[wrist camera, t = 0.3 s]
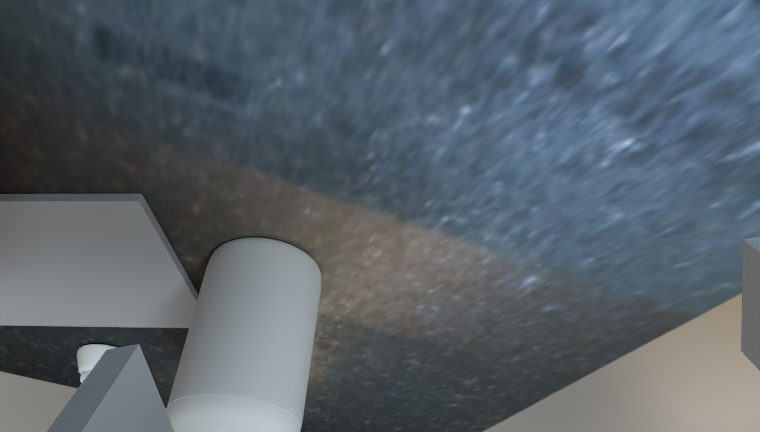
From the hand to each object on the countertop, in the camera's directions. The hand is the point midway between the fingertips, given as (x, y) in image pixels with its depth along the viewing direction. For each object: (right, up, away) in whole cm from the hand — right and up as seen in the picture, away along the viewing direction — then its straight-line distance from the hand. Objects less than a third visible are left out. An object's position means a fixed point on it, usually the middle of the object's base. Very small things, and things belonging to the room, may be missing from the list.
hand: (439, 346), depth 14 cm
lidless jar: (-26, -9, +43) cm, 51 cm away
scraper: (-28, -1, +31) cm, 42 cm away
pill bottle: (-9, -1, +30) cm, 31 cm away
